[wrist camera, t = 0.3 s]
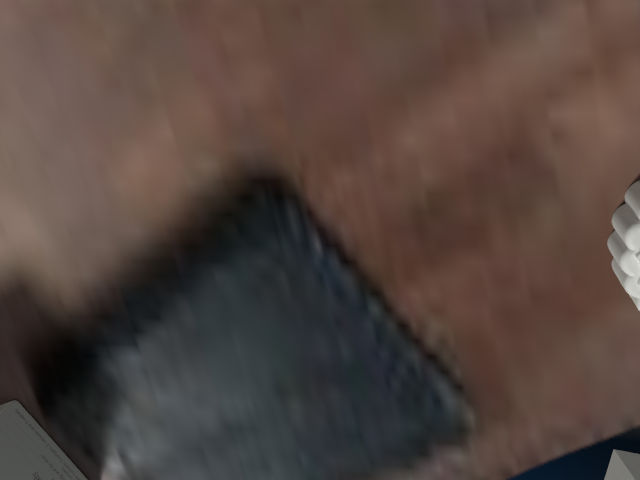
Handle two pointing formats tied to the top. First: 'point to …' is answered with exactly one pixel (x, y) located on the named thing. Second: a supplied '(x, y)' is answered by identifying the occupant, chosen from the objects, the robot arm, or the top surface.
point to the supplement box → (30, 449)
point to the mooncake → (627, 243)
